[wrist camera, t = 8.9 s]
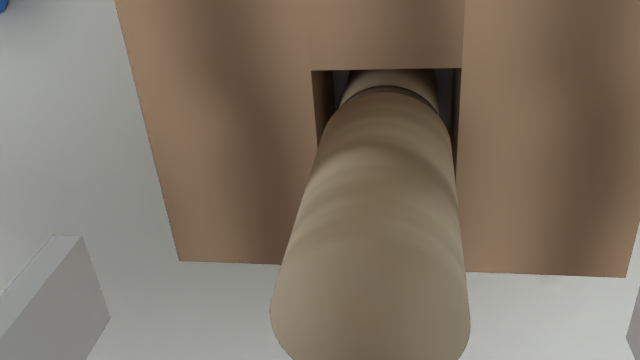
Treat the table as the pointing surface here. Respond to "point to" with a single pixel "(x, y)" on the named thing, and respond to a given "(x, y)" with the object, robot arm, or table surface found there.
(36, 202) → the table surface
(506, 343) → the table surface
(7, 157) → the table surface
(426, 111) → the beech leg
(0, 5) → the ink box
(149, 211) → the table surface
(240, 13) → the seat board
